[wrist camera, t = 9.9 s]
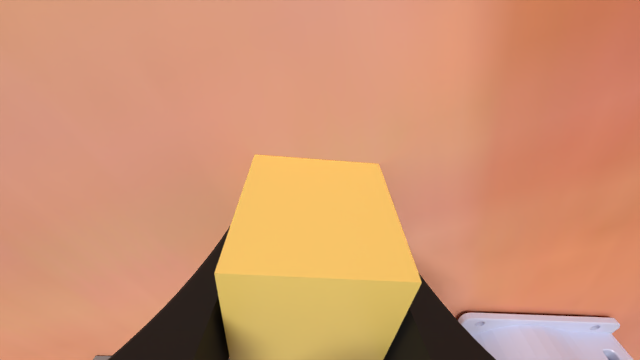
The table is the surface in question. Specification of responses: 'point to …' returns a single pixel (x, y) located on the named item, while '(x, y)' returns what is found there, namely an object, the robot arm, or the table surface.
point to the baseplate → (105, 358)
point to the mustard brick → (314, 263)
